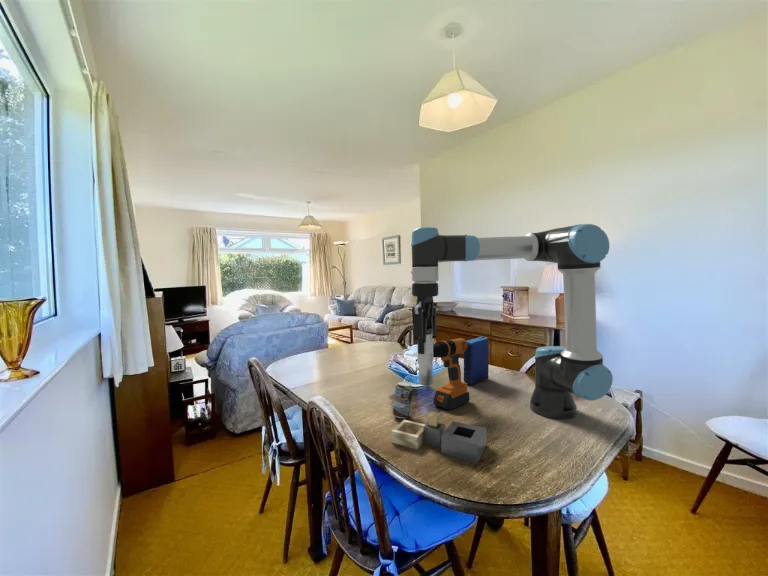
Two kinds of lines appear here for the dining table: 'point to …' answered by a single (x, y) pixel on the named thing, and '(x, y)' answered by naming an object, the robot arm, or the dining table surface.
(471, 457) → the socket block
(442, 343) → the power drill
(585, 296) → the robot arm
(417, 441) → the wooden tray
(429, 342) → the capped tube
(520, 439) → the dining table surface
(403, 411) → the beverage can
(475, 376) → the book
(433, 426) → the tan wooden peg
